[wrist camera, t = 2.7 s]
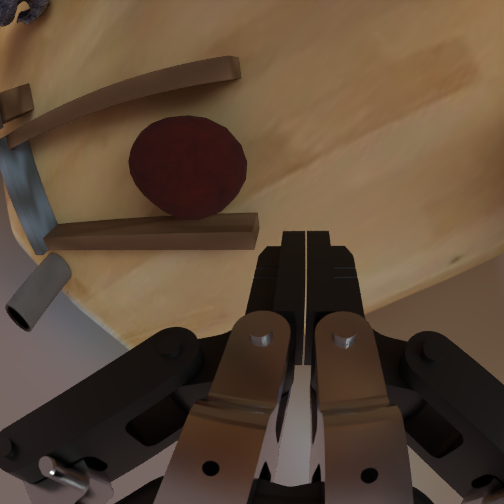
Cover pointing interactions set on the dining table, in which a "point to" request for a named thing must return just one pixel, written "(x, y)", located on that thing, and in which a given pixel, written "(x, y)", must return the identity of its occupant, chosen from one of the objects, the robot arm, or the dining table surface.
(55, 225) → the bay
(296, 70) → the dining table surface
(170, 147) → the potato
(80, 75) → the dining table surface
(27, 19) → the grey lumpy rock
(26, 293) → the grey tube
